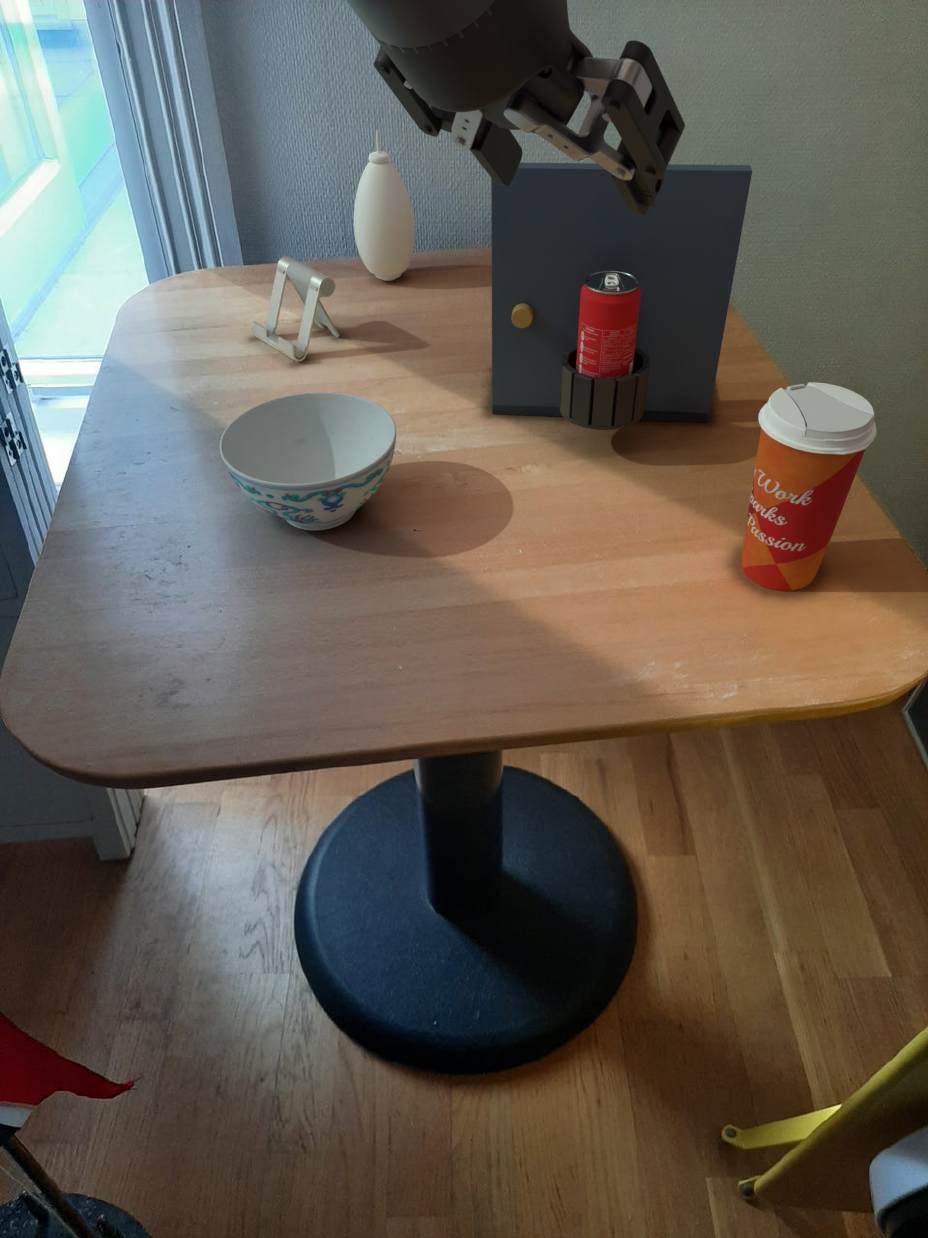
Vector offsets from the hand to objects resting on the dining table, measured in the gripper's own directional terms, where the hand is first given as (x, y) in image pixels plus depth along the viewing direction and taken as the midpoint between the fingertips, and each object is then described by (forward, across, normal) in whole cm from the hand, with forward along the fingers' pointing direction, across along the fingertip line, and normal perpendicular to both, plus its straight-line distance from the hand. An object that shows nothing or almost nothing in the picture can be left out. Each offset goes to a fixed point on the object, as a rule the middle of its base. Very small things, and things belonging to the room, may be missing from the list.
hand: (576, 182), depth 50 cm
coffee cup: (+35, -12, +11) cm, 39 cm away
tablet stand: (+41, +51, +6) cm, 65 cm away
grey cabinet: (+44, +13, +2) cm, 46 cm away
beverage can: (+38, +10, +3) cm, 39 cm away
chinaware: (+24, +26, +22) cm, 42 cm away
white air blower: (+55, +54, -8) cm, 78 cm away
